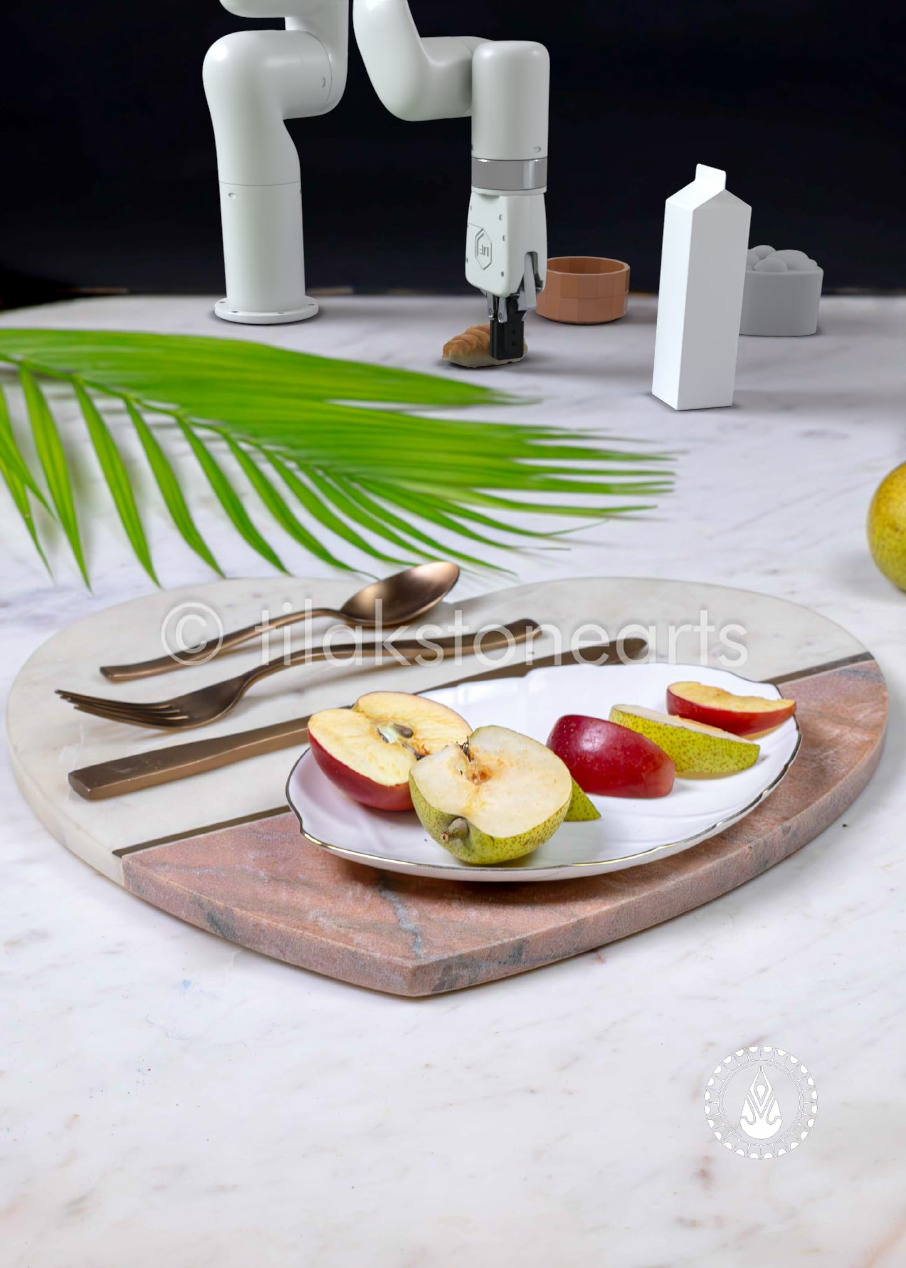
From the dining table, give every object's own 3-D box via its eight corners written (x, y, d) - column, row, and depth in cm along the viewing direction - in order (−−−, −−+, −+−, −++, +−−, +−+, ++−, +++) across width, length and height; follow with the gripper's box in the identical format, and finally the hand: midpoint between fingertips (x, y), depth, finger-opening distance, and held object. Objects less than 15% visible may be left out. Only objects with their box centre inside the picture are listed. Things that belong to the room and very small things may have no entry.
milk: (676, 411, 131) (694, 173, 121) (650, 394, 137) (666, 164, 127) (733, 406, 133) (756, 170, 123) (706, 389, 138) (725, 161, 128)
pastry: (468, 374, 142) (468, 338, 141) (426, 361, 147) (426, 326, 145) (532, 359, 148) (533, 324, 146) (490, 347, 153) (491, 313, 151)
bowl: (518, 309, 169) (520, 260, 167) (596, 301, 174) (599, 253, 171) (562, 329, 160) (565, 278, 158) (643, 320, 164) (647, 270, 162)
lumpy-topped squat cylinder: (820, 337, 158) (829, 261, 154) (707, 334, 159) (714, 258, 155) (805, 316, 167) (814, 244, 163) (698, 313, 168) (705, 242, 164)
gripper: (443, 169, 140) (444, 345, 148) (509, 187, 128) (506, 378, 136) (508, 165, 143) (506, 338, 151) (579, 182, 131) (572, 370, 139)
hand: (506, 357), depth 143 cm, fingers closed
